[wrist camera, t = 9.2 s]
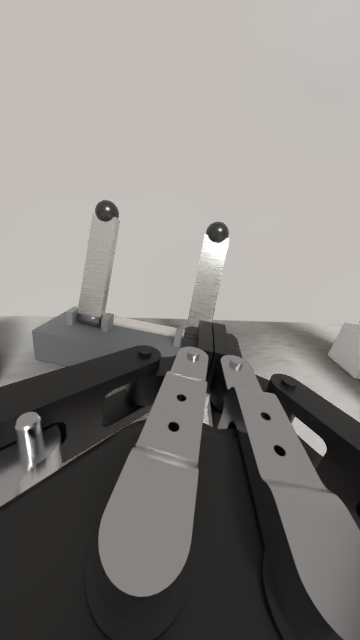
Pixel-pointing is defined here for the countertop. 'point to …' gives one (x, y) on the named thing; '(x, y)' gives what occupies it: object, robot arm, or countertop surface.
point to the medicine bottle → (347, 349)
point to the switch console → (100, 338)
